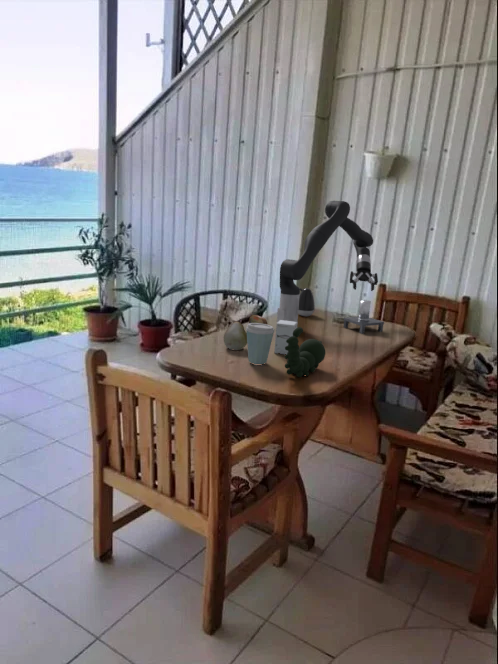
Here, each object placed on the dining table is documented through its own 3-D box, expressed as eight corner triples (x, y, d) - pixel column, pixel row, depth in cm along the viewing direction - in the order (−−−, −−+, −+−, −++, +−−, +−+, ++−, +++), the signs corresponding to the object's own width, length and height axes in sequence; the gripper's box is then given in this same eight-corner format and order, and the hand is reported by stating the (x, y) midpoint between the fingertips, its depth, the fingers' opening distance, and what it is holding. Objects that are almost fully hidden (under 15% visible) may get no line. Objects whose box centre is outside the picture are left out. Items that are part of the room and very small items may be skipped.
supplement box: (273, 353, 203) (275, 322, 200) (278, 349, 210) (280, 319, 207) (291, 356, 201) (294, 325, 198) (295, 351, 208) (297, 321, 205)
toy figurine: (301, 388, 170) (331, 364, 190) (304, 334, 164) (335, 315, 184) (276, 382, 175) (308, 359, 195) (278, 329, 168) (310, 311, 189)
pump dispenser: (304, 312, 287) (306, 286, 283) (317, 316, 279) (320, 289, 275) (291, 314, 280) (293, 287, 277) (305, 318, 273) (307, 290, 269)
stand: (361, 333, 244) (362, 323, 243) (342, 327, 256) (343, 317, 254) (383, 331, 251) (384, 321, 250) (363, 325, 262) (364, 316, 261)
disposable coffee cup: (255, 357, 196) (258, 319, 193) (278, 363, 190) (280, 325, 186) (238, 362, 188) (240, 323, 185) (260, 369, 182) (263, 329, 178)
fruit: (250, 347, 209) (251, 319, 207) (244, 353, 201) (245, 324, 198) (226, 344, 212) (228, 316, 209) (219, 350, 203) (220, 321, 200)
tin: (247, 330, 239) (248, 312, 237) (253, 329, 240) (254, 312, 238) (261, 338, 226) (263, 319, 224) (268, 337, 227) (269, 319, 225)
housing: (363, 321, 248) (365, 302, 246) (355, 318, 253) (357, 300, 251) (371, 320, 251) (373, 301, 249) (363, 318, 256) (366, 299, 253)
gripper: (351, 259, 266) (350, 284, 257) (378, 261, 265) (379, 286, 256) (348, 268, 272) (348, 292, 264) (375, 270, 271) (376, 294, 263)
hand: (363, 289), depth 260 cm, fingers open, 8 cm apart
